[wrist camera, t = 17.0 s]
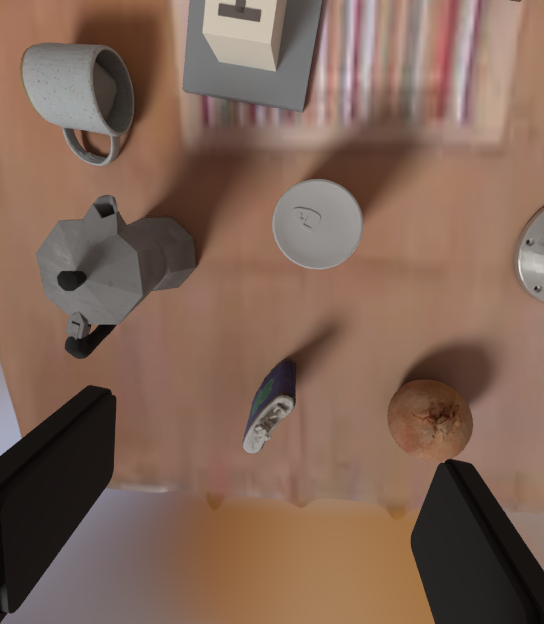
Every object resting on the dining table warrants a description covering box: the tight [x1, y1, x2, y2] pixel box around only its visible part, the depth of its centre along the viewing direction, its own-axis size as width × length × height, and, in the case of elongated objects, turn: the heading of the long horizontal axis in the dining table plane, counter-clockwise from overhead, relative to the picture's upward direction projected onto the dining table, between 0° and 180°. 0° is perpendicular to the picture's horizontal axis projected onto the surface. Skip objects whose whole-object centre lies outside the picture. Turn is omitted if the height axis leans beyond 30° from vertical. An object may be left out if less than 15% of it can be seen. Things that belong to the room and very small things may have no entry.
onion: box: [388, 379, 473, 462], centre depth 41 cm, size 10×9×10 cm
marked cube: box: [202, 0, 287, 71], centre depth 31 cm, size 6×6×6 cm
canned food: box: [272, 179, 363, 269], centre depth 34 cm, size 8×8×11 cm
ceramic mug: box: [20, 43, 134, 166], centre depth 35 cm, size 11×8×8 cm
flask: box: [242, 359, 296, 453], centre depth 41 cm, size 9×3×11 cm, turn 147°
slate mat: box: [183, 0, 323, 112], centre depth 35 cm, size 13×12×1 cm
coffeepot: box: [36, 195, 196, 359], centre depth 34 cm, size 15×9×18 cm, turn 159°
